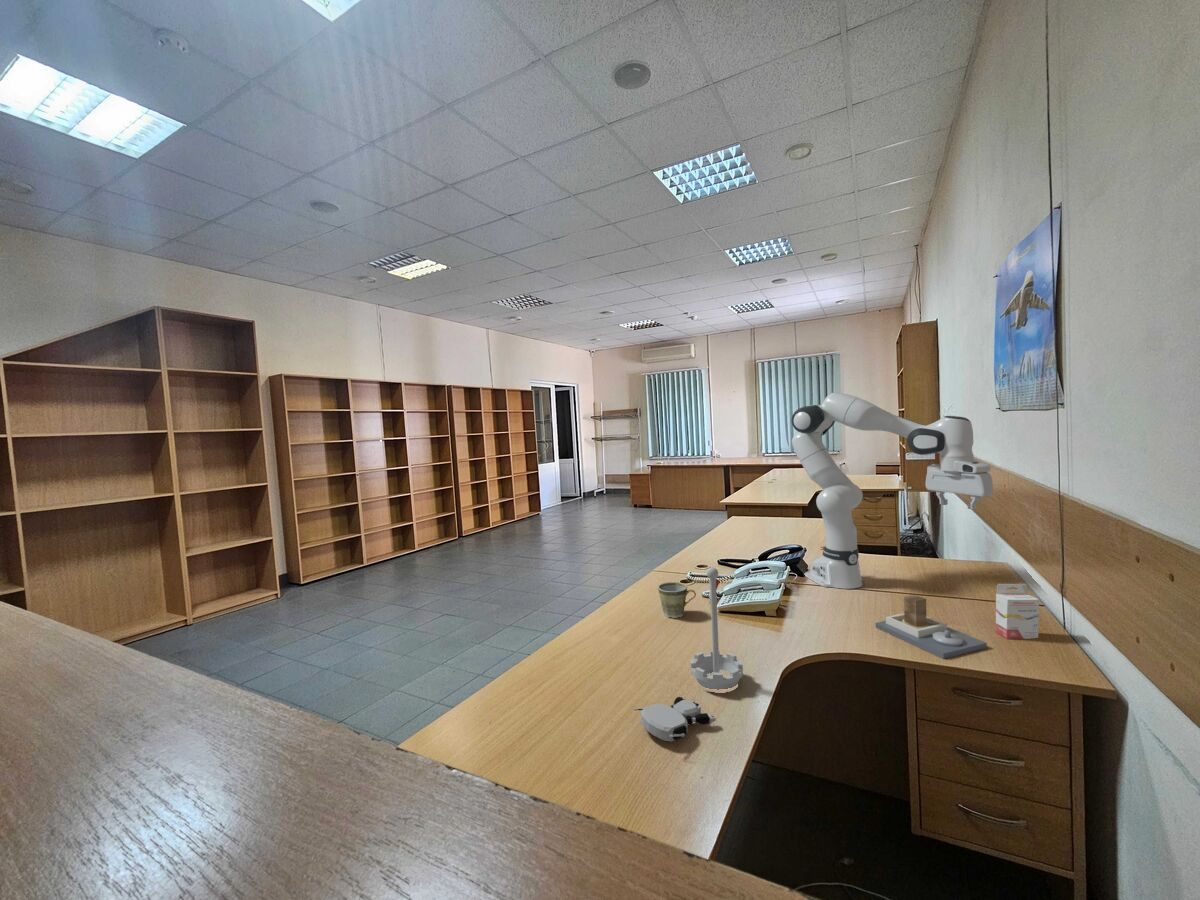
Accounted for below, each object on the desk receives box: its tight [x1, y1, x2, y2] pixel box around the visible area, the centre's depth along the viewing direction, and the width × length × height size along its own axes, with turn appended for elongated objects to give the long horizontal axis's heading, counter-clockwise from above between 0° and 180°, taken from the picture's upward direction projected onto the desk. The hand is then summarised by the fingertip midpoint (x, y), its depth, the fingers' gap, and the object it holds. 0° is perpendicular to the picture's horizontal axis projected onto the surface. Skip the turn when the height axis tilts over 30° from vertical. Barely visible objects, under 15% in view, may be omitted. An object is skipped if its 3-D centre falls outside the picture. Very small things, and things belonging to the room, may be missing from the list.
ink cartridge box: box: [995, 583, 1040, 640], centre depth 143 cm, size 9×5×15 cm, turn 84°
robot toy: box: [633, 695, 717, 742], centre depth 109 cm, size 12×4×15 cm
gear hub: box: [902, 594, 929, 629], centre depth 149 cm, size 7×7×9 cm
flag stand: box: [690, 566, 744, 690], centre depth 126 cm, size 13×13×30 cm
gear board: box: [875, 612, 988, 660], centre depth 145 cm, size 22×16×4 cm
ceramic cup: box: [657, 581, 697, 619], centre depth 171 cm, size 13×10×10 cm
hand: (957, 506), depth 163 cm, fingers open, 8 cm apart
